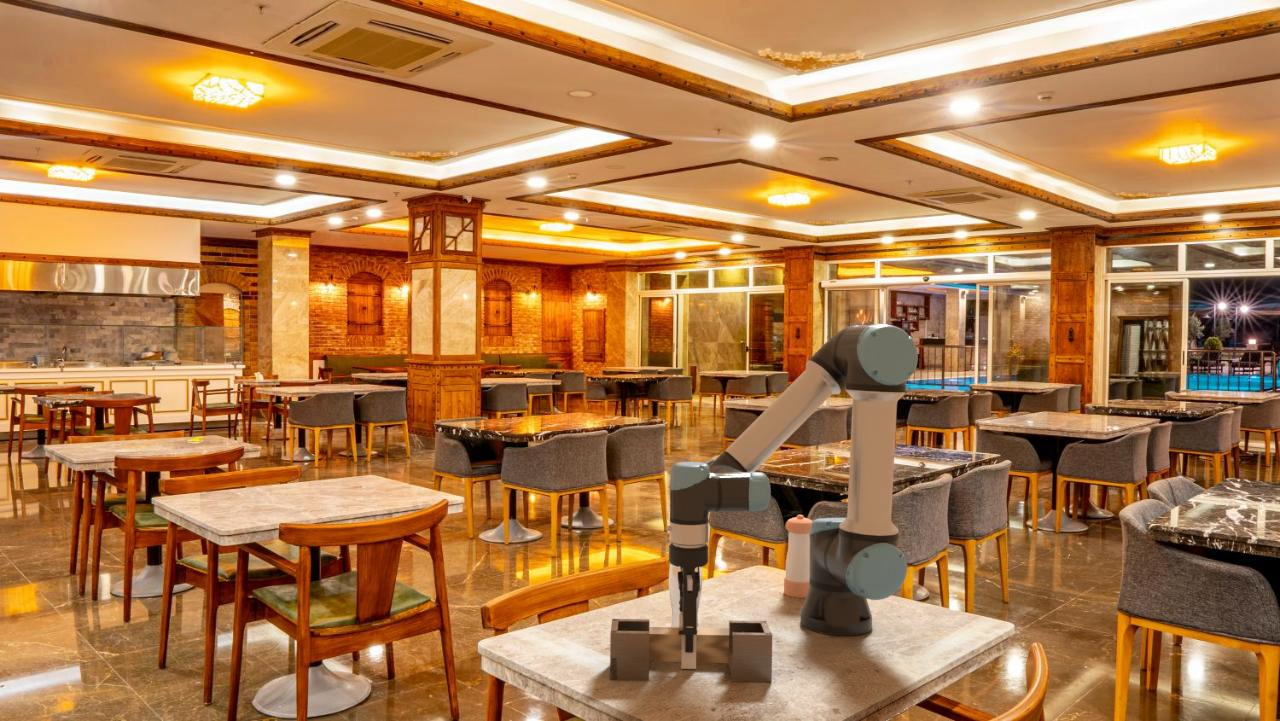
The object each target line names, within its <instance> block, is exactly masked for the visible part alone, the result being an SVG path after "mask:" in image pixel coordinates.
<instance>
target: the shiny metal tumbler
mask: <svg viewBox="0 0 1280 721" xmlns="http://www.w3.org/2000/svg"><path fill="white" fill-rule="evenodd" d="M702 569H703V568H702V567H697V568H695V572H698V575H699V584H698V597H697V628H700V627H699V620H698V619H699V618H698V617H699V616H698V615H699V609H700V608H699V607H700V604H701V597H702V592H703V591H702V590H703V571H702ZM668 570H669V571H668V593H669V600H670V605H671V615H672V616H671V617H672V618H671V619H672V620H671V625H670V627H679V613H682V612H680V610H679V607H680V604H679V601H680V590H679V584H678V572H681V567H677V566H674V565H672V564H670V563H669V569H668Z"/></svg>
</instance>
